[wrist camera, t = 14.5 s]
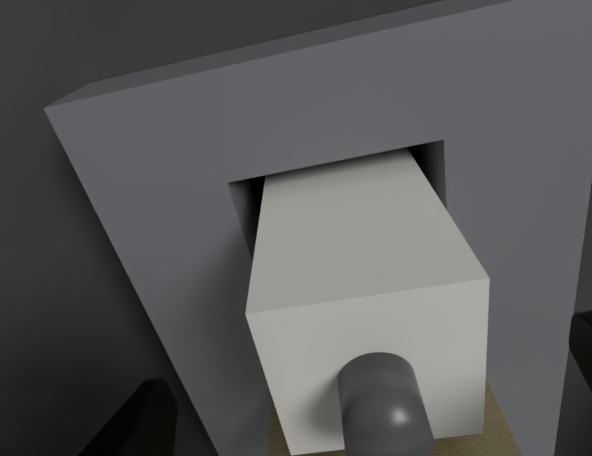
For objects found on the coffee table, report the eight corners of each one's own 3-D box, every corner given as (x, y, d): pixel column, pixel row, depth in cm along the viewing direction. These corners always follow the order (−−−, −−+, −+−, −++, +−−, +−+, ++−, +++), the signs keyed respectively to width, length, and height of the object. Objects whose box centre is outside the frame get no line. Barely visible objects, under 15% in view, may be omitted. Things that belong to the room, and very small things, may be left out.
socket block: (552, -25, 12) (619, -24, 10) (520, 420, 22) (550, 479, 20) (90, 82, 14) (43, 108, 11) (253, 455, 24) (248, 514, 21)
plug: (406, 245, 17) (511, 501, 9) (292, 263, 17) (290, 523, 9) (398, 134, 15) (528, 338, 7) (268, 158, 15) (235, 377, 7)
